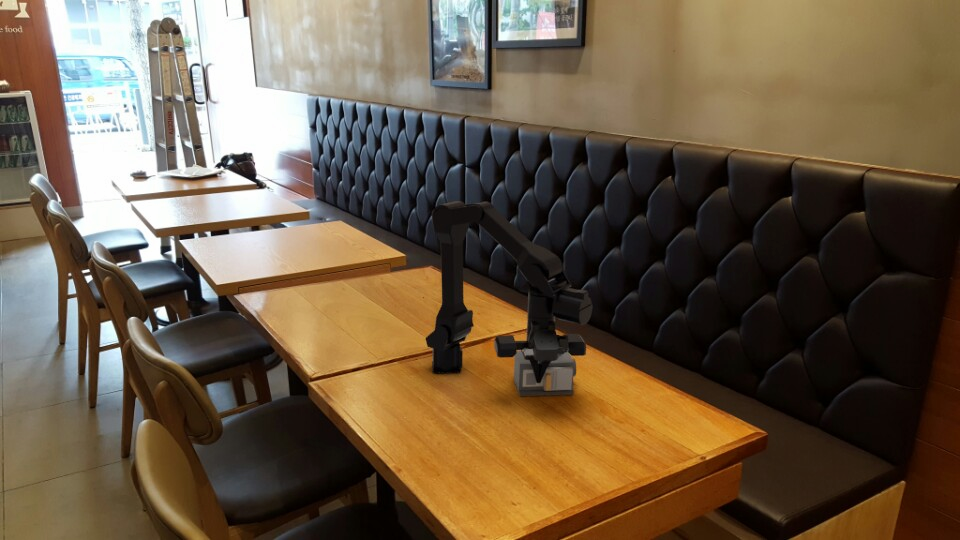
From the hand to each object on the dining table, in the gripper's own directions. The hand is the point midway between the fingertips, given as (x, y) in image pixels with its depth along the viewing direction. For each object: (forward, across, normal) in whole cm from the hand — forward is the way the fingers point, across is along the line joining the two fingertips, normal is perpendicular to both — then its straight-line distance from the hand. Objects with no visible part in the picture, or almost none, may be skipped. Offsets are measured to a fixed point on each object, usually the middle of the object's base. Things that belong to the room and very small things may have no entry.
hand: (538, 382), depth 145 cm
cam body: (+4, +2, +6) cm, 7 cm away
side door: (+2, +5, +1) cm, 5 cm away
